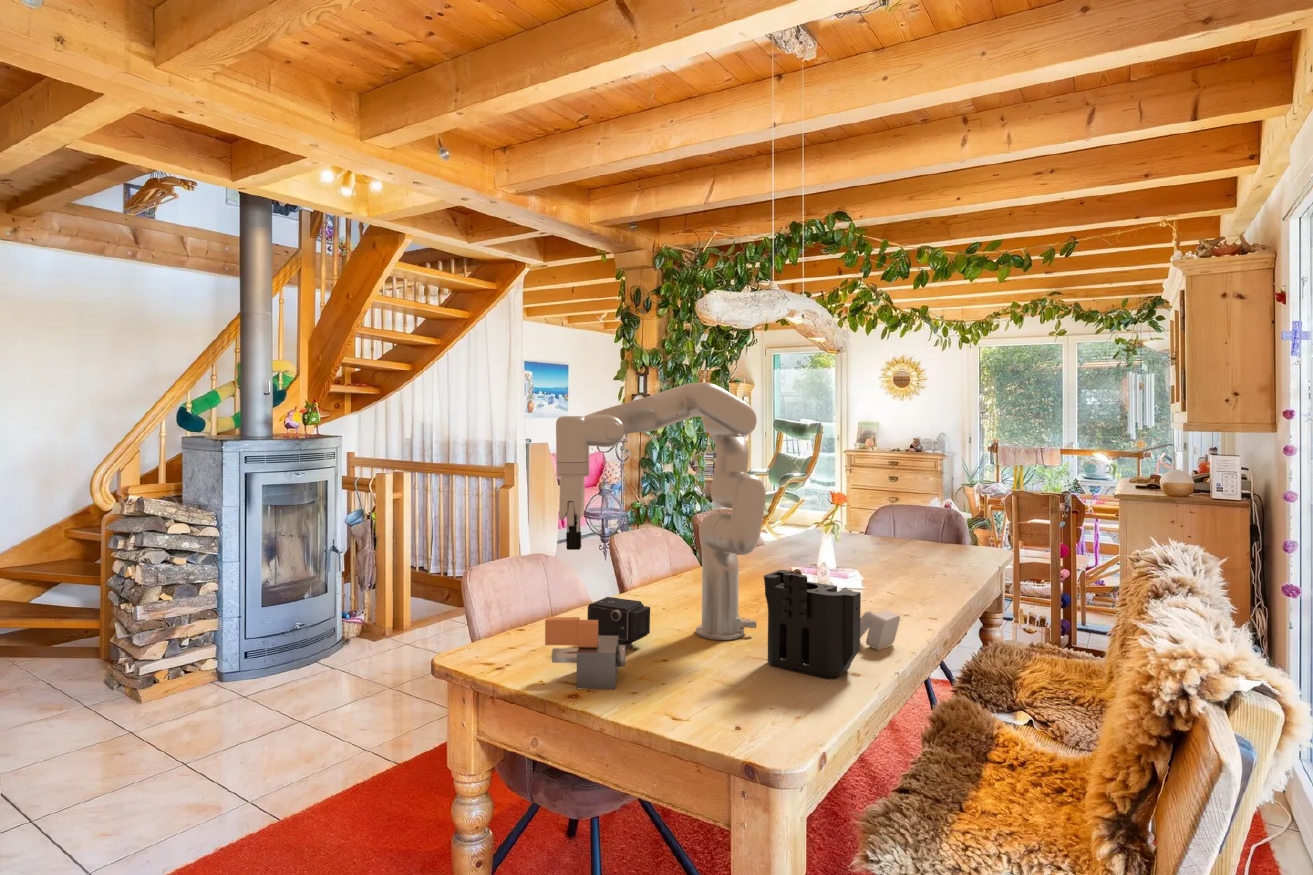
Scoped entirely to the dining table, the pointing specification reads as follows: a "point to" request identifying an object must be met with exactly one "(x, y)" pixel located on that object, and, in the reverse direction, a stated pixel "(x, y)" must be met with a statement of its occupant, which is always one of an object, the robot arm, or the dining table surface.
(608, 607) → the camera
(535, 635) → the dining table surface
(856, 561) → the dining table surface
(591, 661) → the block
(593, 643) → the plate
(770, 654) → the black machined bracket
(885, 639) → the wall hook
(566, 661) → the pin
